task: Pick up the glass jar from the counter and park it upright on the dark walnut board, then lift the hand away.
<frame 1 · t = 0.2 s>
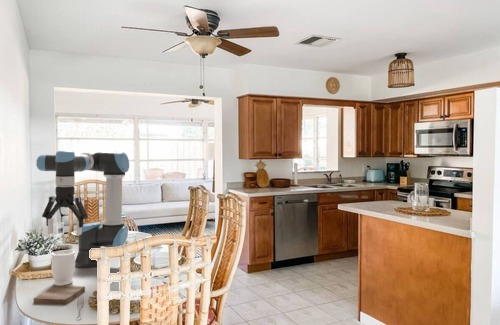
hand: (64, 234, 166), 28 cm above the table, tool pointing down, fingers open, 13 cm apart
jar: (63, 283, 183), on the table
board: (60, 296, 166), on the table
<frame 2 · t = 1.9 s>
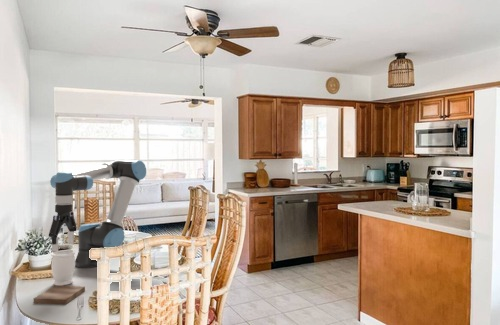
hand: (63, 247, 183), 17 cm above the table, tool pointing down, fingers open, 13 cm apart
nothing on the table moved.
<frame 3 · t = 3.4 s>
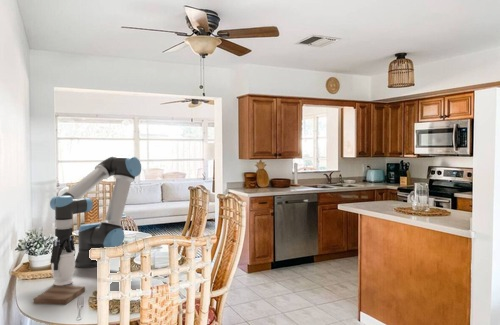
hand: (63, 273, 183), 5 cm above the table, tool pointing down, fingers closed on jar, 10 cm apart
jar: (63, 283, 183), on the table, touching gripper
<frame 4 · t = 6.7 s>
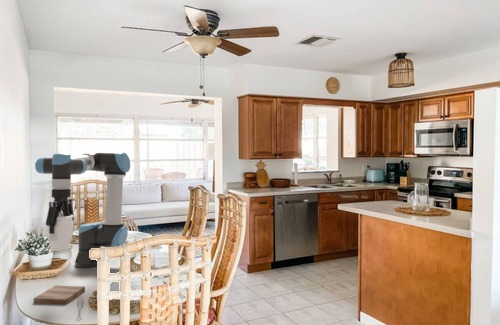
hand: (60, 238, 167), 25 cm above the table, tool pointing down, fingers closed on jar, 10 cm apart
jar: (60, 249, 167), point 20 cm above the table, touching gripper
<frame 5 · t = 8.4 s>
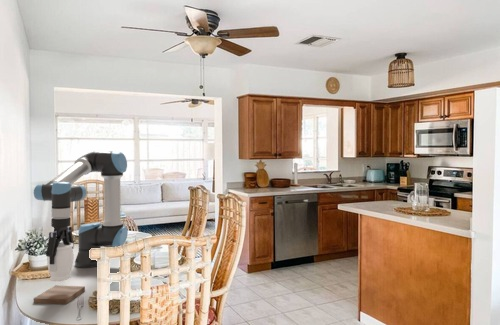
hand: (60, 267, 166), 13 cm above the table, tool pointing down, fingers closed on jar, 10 cm apart
jar: (60, 279, 166), point 8 cm above the table, touching gripper
when the fingers open (7 cm above the table, at t = 10.1 s): jar stays where it is, resting on board.
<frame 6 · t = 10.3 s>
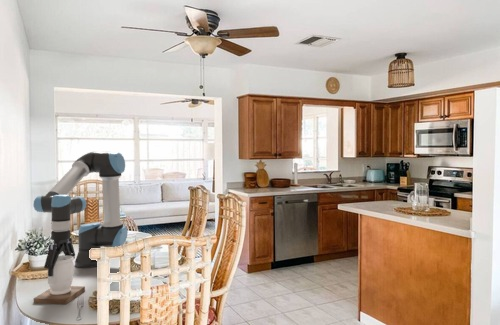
hand: (60, 278, 166), 8 cm above the table, tool pointing down, fingers open, 13 cm apart
jar: (60, 292, 166), point 2 cm above the table, touching board
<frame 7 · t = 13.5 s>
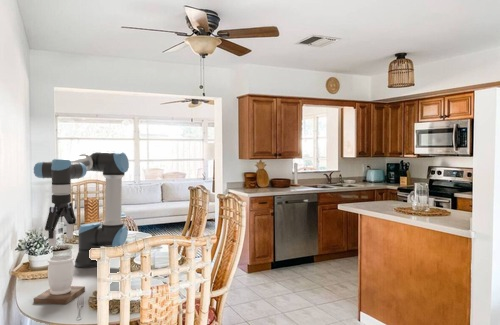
hand: (61, 242, 166), 24 cm above the table, tool pointing down, fingers open, 13 cm apart
nothing on the table moved.
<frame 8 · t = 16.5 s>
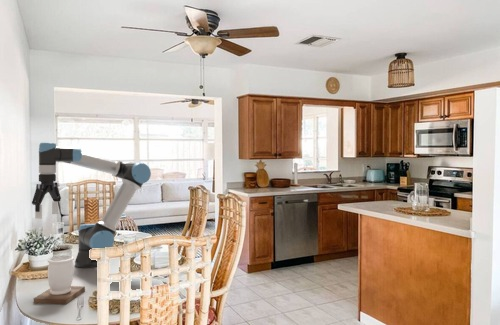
hand: (47, 216, 188), 32 cm above the table, tool pointing down, fingers open, 13 cm apart
nothing on the table moved.
at the end: jar inside the target area on the board (0.3 cm from its centre), point 1.8 cm above the board's base; jar tilted 0°; the gripper is holding nothing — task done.
